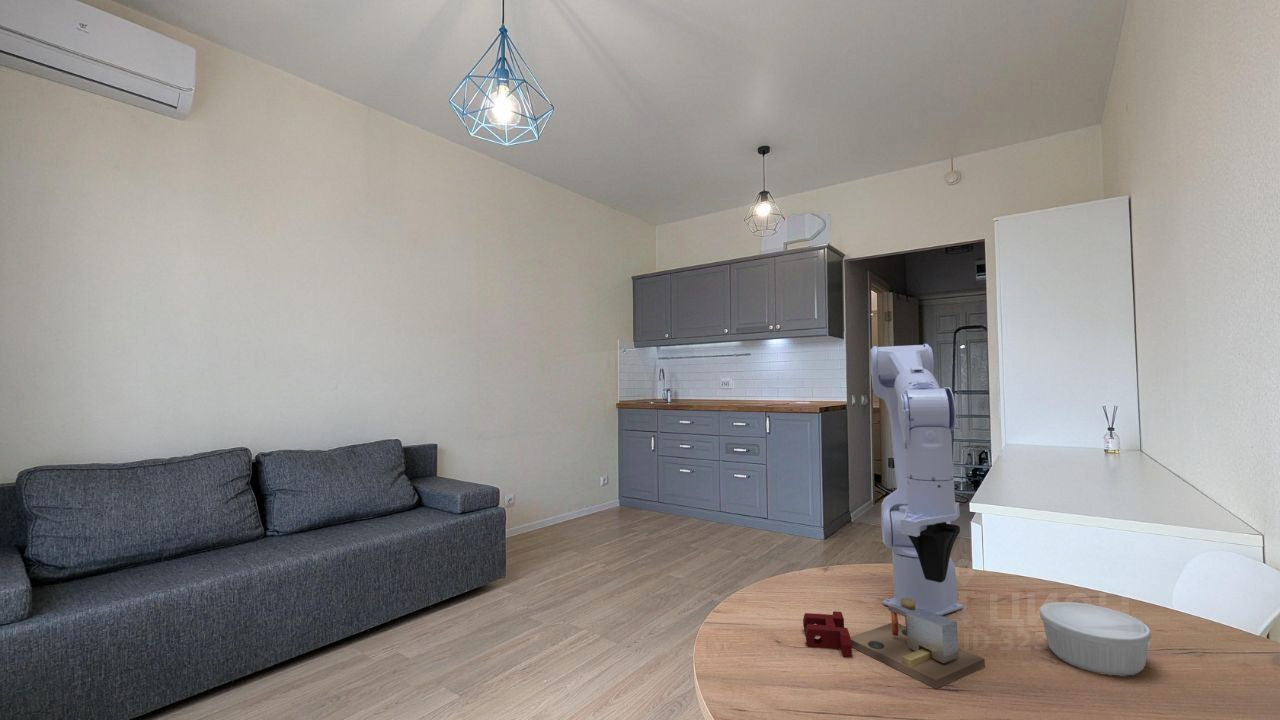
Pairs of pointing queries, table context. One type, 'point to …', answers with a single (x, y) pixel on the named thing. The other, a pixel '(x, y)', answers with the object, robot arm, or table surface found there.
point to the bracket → (827, 632)
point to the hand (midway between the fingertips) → (935, 579)
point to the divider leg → (928, 632)
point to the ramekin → (1096, 637)
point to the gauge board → (914, 654)
